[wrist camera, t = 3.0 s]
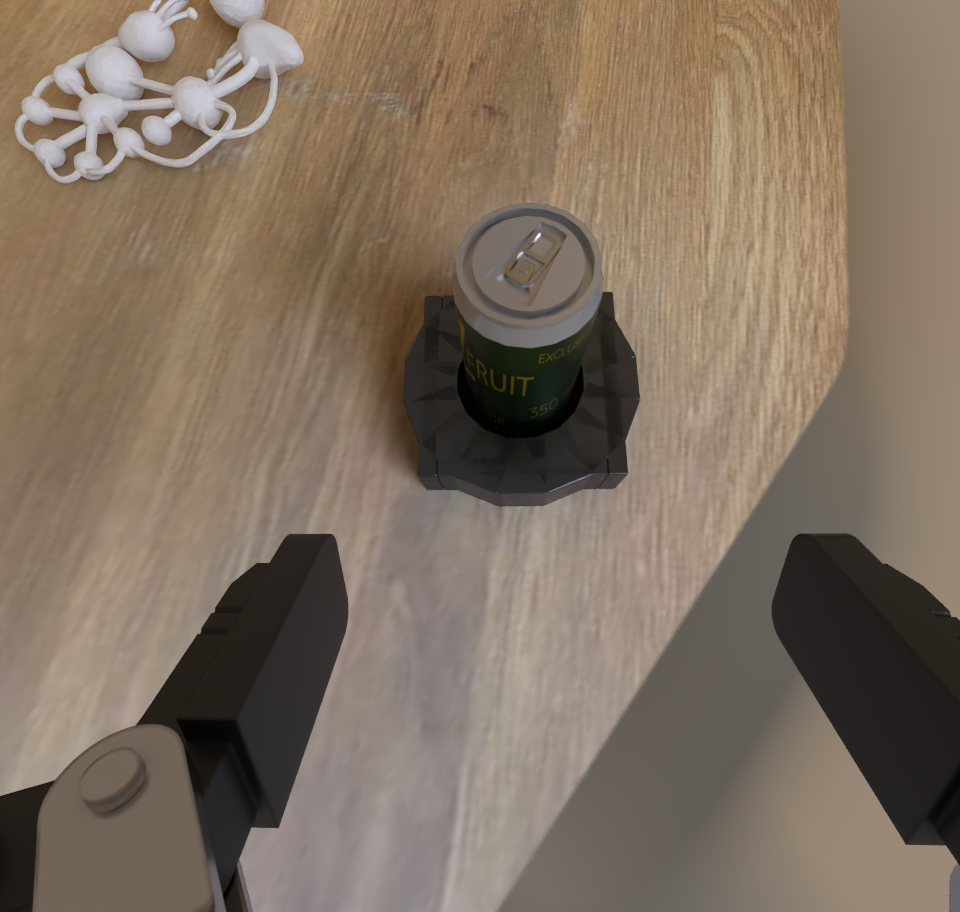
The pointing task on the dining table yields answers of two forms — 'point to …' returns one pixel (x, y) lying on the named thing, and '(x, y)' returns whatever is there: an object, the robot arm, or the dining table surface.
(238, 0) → the tangled rod sculpture
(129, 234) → the dining table surface
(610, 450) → the dark faceted ring
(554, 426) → the beer can
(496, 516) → the dining table surface
